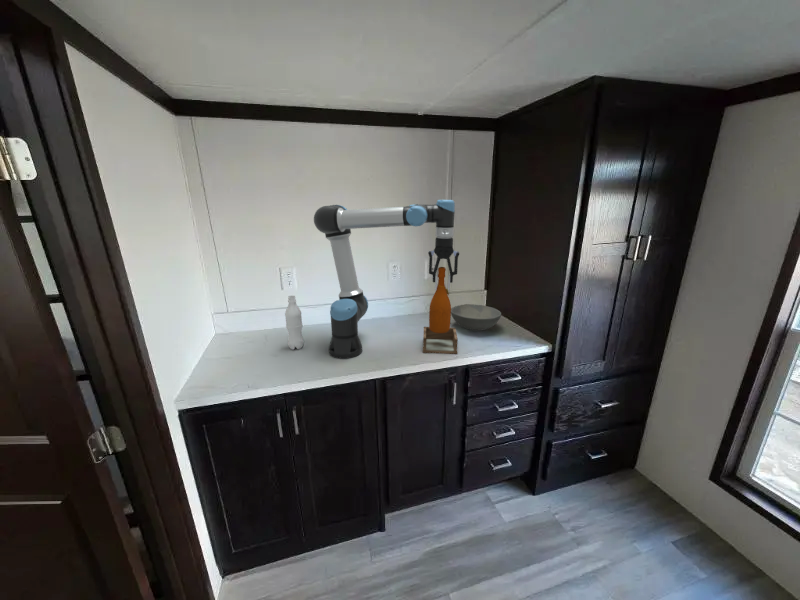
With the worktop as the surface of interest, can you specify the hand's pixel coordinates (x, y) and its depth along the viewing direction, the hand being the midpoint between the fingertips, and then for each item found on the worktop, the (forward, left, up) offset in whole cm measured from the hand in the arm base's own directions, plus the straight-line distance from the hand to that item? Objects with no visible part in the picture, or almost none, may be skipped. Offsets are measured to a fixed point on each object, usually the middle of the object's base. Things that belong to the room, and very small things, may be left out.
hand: (442, 289), depth 154 cm
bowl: (+19, +26, -28) cm, 43 cm away
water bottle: (-67, -7, -28) cm, 73 cm away
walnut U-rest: (0, +1, -28) cm, 28 cm away
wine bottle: (-1, 0, -20) cm, 20 cm away
